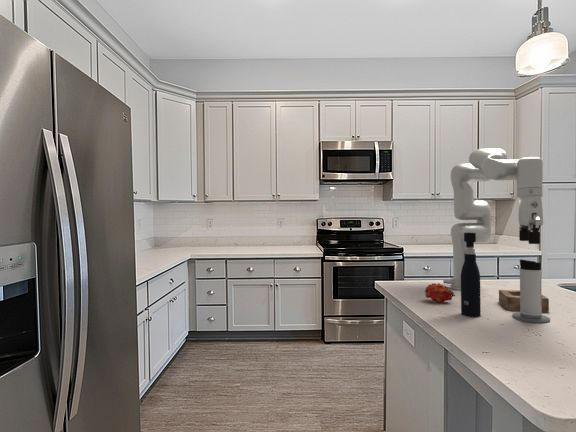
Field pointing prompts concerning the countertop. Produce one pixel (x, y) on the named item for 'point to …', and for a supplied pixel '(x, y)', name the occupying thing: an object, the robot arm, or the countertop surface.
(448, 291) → the dragon fruit
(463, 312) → the black water bottle
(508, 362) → the countertop surface
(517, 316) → the coaster
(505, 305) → the mug holder
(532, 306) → the travel mug
